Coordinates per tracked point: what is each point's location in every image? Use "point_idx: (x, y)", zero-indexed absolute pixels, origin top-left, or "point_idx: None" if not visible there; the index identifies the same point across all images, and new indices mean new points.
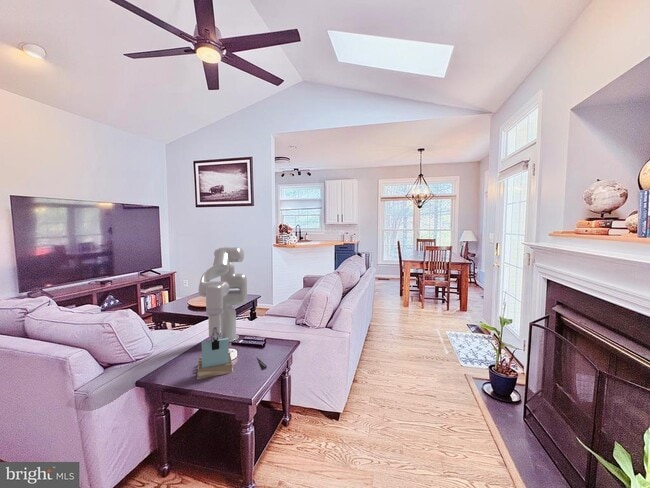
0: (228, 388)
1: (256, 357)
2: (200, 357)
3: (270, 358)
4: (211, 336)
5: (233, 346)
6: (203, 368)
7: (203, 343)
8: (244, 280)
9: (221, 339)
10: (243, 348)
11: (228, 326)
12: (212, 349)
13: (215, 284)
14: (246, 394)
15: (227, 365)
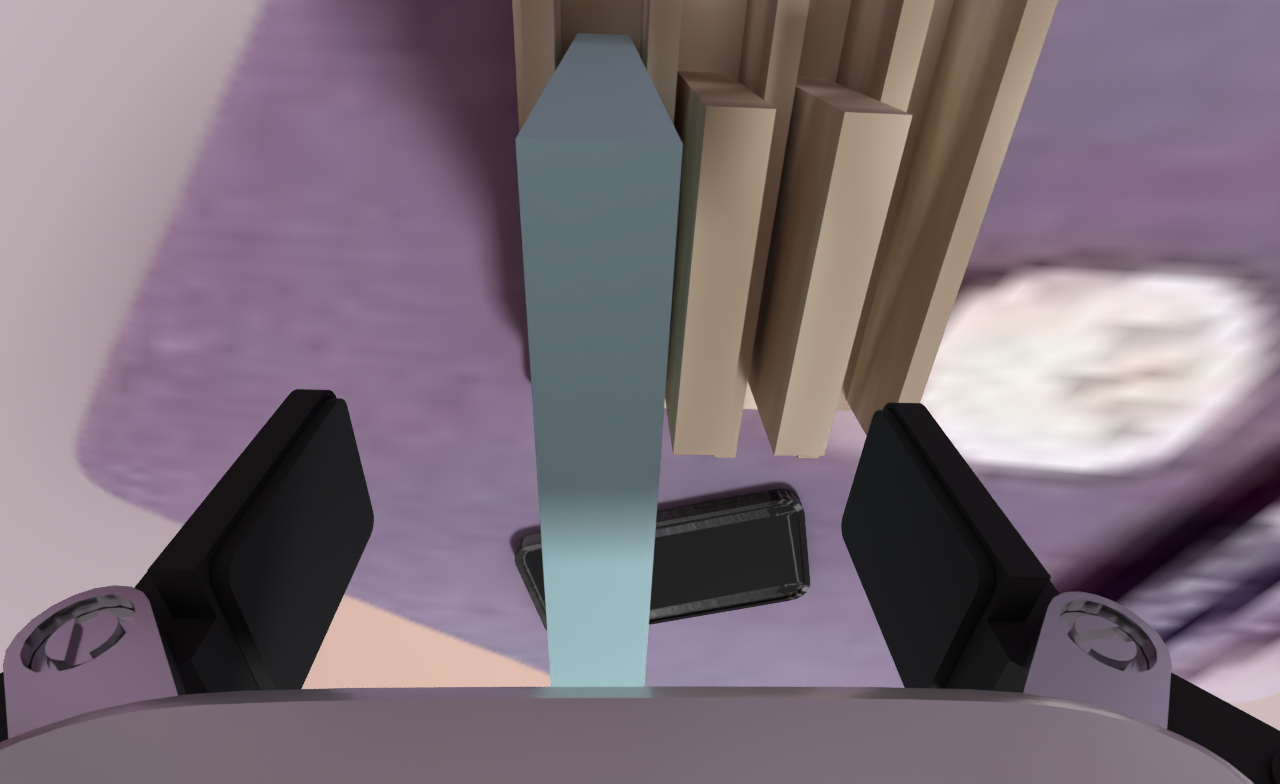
0: (249, 323)
1: (781, 599)
2: (1042, 27)
3: (719, 665)
4: (966, 511)
5: (1240, 450)
6: (537, 70)
7: (527, 211)
8: None
9: (598, 685)
10: (1094, 525)
11: None
12: (292, 405)
13: None
14: (115, 453)
15: None
